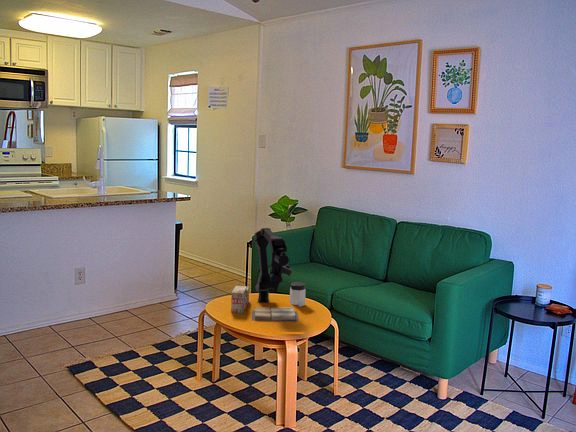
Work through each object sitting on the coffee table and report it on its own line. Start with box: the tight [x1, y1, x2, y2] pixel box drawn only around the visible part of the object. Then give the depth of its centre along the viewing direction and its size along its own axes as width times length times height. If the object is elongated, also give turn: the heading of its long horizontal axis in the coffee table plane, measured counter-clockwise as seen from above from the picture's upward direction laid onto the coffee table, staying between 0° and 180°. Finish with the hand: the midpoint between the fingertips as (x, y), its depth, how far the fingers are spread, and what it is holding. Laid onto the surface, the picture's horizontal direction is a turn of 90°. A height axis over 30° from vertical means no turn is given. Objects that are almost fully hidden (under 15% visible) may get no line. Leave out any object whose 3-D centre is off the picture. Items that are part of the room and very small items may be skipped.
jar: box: [289, 281, 307, 308], centre depth 308 cm, size 9×8×12 cm
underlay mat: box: [251, 309, 300, 323], centre depth 285 cm, size 16×24×1 cm, turn 93°
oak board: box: [254, 306, 271, 320], centre depth 285 cm, size 14×8×2 cm, turn 3°
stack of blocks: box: [230, 285, 250, 314], centre depth 297 cm, size 21×6×12 cm, turn 176°
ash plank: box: [270, 306, 295, 320], centre depth 285 cm, size 14×12×2 cm
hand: (275, 289), depth 293 cm, fingers open, 9 cm apart
